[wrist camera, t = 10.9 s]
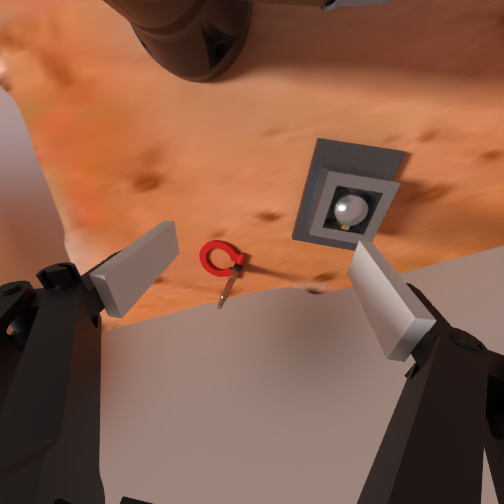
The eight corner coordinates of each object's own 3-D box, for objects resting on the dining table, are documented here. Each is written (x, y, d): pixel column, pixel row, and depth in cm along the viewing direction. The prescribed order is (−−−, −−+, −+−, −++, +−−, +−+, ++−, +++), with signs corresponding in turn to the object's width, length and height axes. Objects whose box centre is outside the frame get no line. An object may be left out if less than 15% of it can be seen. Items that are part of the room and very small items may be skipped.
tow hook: (197, 265, 44) (236, 281, 44) (165, 305, 33) (216, 326, 33) (206, 233, 40) (248, 250, 40) (172, 266, 28) (231, 290, 29)
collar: (322, 167, 29) (329, 171, 25) (383, 177, 29) (401, 183, 25) (305, 223, 34) (309, 234, 30) (358, 232, 33) (369, 245, 29)
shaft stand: (317, 138, 29) (326, 137, 23) (400, 151, 28) (432, 153, 22) (291, 235, 37) (293, 254, 31) (356, 247, 36) (371, 268, 30)
